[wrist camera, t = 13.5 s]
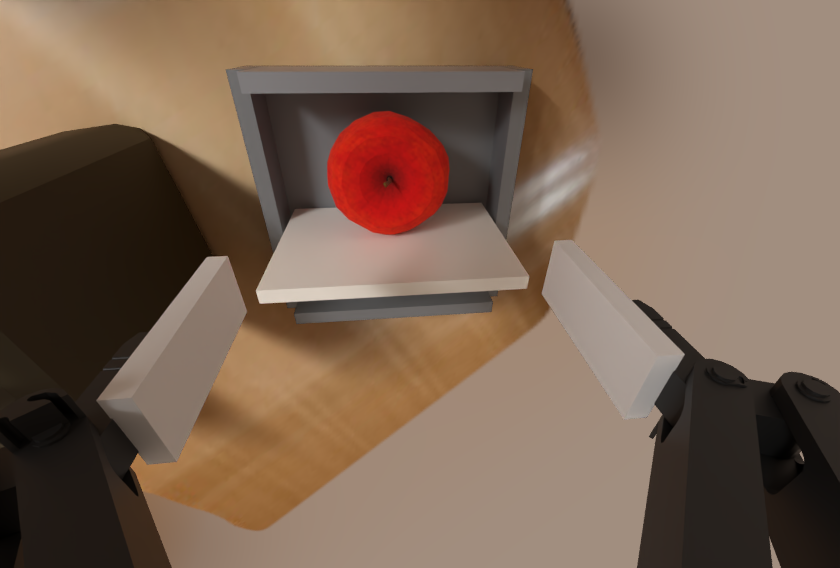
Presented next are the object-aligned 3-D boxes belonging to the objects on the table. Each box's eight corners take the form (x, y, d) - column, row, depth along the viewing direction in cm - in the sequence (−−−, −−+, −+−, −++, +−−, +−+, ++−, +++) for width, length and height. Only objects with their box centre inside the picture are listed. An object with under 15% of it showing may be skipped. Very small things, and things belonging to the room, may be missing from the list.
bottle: (147, 117, 29) (-440, 315, 8) (231, 281, 38) (58, 569, 17) (47, 132, 28) (-812, 372, 8) (156, 292, 38) (-110, 597, 17)
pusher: (295, 208, 33) (255, 290, 22) (481, 202, 34) (529, 276, 23) (306, 264, 36) (277, 359, 25) (475, 257, 37) (515, 343, 27)
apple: (443, 105, 29) (462, 123, 23) (432, 206, 34) (445, 245, 28) (331, 96, 28) (318, 112, 22) (336, 202, 33) (327, 241, 27)
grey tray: (246, 65, 27) (211, 72, 21) (512, 65, 29) (546, 72, 23) (295, 282, 38) (282, 324, 33) (486, 272, 40) (504, 311, 35)
